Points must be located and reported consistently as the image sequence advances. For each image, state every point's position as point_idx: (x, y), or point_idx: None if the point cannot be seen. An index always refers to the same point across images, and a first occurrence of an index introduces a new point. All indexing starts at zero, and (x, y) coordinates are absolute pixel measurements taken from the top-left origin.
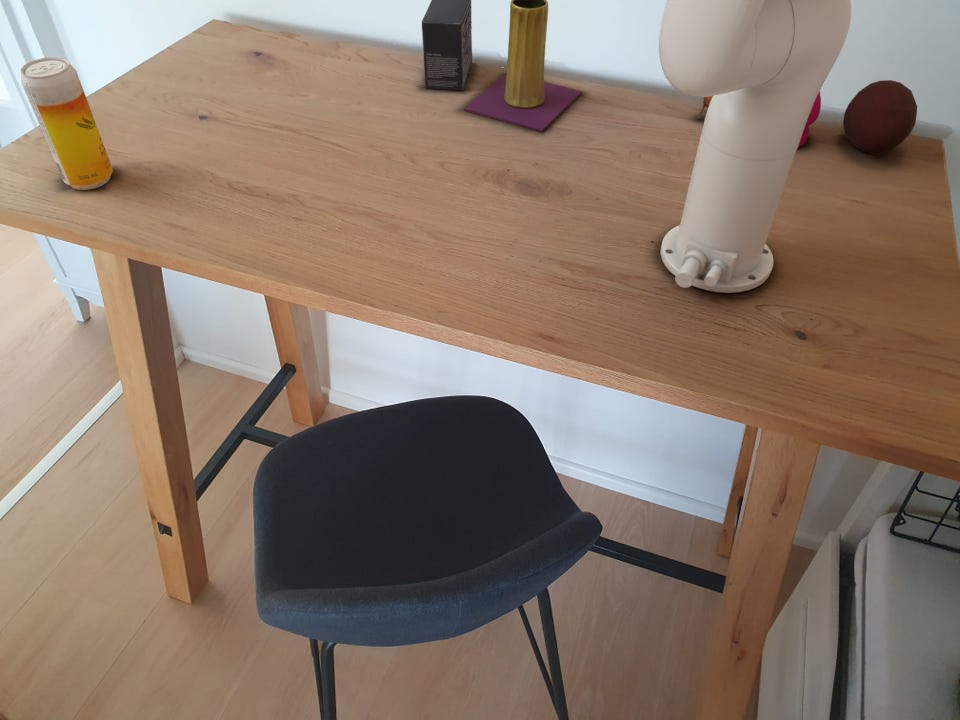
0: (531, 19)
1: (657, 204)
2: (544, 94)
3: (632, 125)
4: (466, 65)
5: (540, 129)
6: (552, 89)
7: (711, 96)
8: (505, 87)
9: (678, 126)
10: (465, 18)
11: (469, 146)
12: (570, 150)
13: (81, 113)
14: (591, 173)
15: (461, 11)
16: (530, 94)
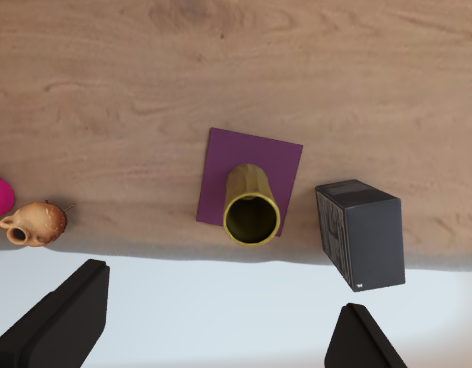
0: (240, 192)
1: (65, 23)
2: None
3: (131, 172)
4: (323, 215)
5: (213, 128)
6: None
7: (46, 206)
8: None
9: (89, 185)
10: (344, 237)
11: (275, 72)
12: (174, 100)
13: None
14: (141, 61)
15: (354, 243)
16: (236, 172)
